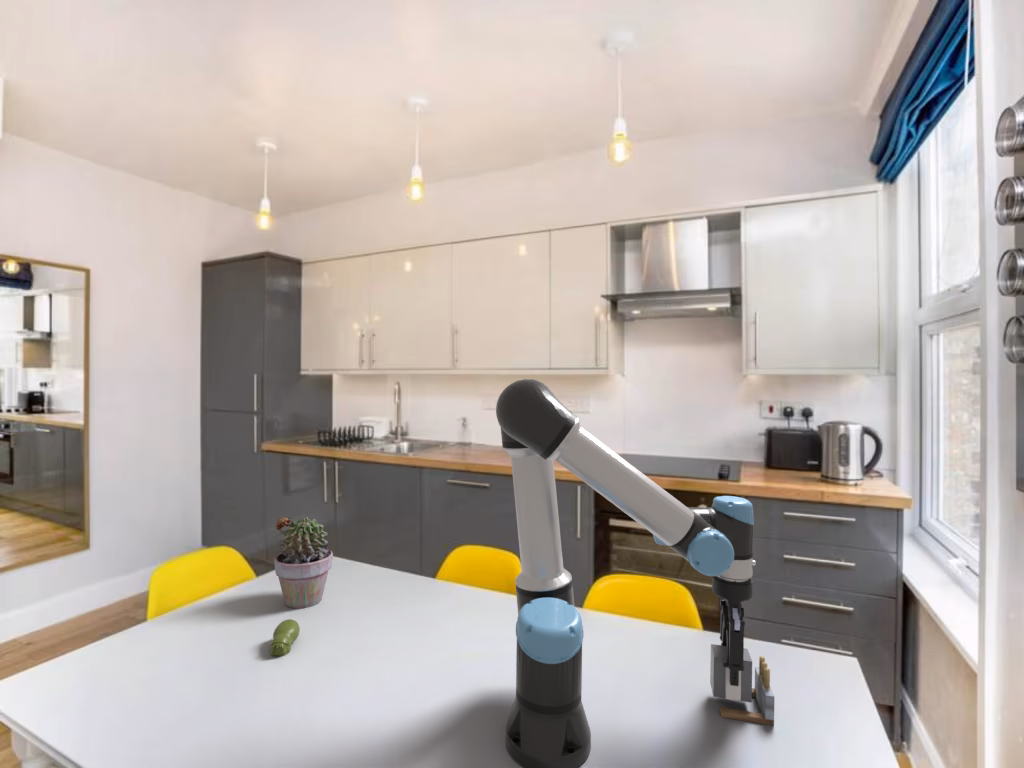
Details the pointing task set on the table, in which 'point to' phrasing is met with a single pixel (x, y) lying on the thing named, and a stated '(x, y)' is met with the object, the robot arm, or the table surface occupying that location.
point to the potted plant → (303, 562)
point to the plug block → (720, 673)
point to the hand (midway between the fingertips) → (730, 690)
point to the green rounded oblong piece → (284, 637)
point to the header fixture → (763, 698)
